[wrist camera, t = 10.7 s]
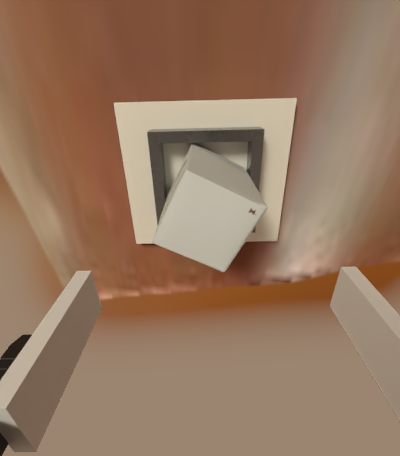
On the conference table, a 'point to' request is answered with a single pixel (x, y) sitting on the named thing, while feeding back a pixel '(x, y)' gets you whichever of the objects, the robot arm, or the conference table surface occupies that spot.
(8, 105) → the conference table surface
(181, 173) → the supplement box
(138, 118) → the base plate
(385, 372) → the robot arm
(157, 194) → the collar
